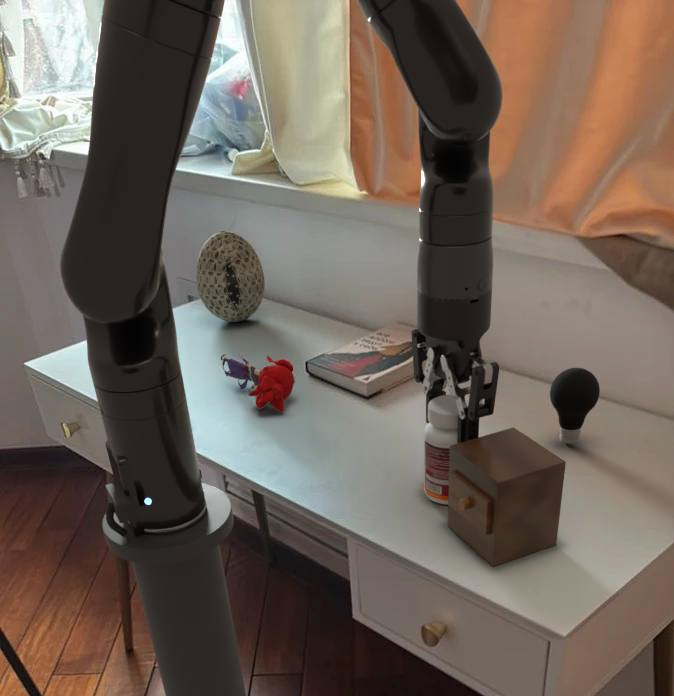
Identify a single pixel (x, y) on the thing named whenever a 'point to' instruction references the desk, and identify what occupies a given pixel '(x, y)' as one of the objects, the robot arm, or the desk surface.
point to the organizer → (505, 495)
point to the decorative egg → (229, 277)
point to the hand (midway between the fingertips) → (451, 434)
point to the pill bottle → (439, 446)
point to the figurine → (264, 380)
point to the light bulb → (573, 400)
